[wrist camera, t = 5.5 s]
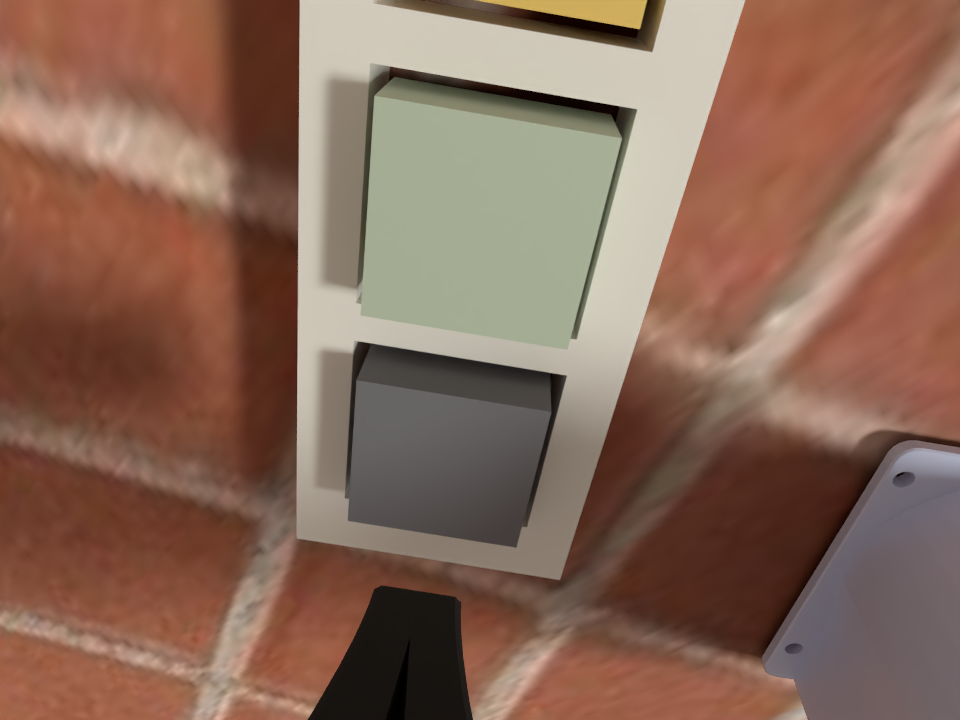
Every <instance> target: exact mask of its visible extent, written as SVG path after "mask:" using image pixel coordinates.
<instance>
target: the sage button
mask: <svg viewBox="0 0 960 720" xmlns="http://www.w3.org/2000/svg"><path fill="white" fill-rule="evenodd" d="M621 141H622V137H621V135H620V133H619V131H618V128H617V126H616V124H615V122H614V120H613V118H612V115H611V114H605V113H599V112H594V111H588V110H582V109H576V108H571V107H565V106H559V105H553V104H547V103H542V102H536V101H530V100H524V99H519V98H513V97H507V96H501V95H496V94H490V93H484V92H478V91H472V90H467V89H461V88H455V87H449V86H444V85H438V84H432V83H426V82H420V81H415V80H409V79H403V78H397V77H394V78H393V79H392V80H391V81H390V82H389V83H387V84H386V85H385V86H384V87H383V88H382V89H381V90H380V91H379V92H378V93H377V94H376V95H375V96H374V109H373V125H372V141H371V157H370V173H369V189H368V205H367V221H366V237H365V253H364V268H363V284H362V300H361V316H367V317H373V318H379V319H385V320H391V321H397V322H403V323H409V324H415V325H421V326H427V327H433V328H439V329H445V330H451V331H457V332H463V333H469V334H475V335H481V336H487V337H493V338H500V339H506V340H512V341H518V342H524V343H530V344H536V345H542V346H548V347H554V348H560V349H566V350H568V346H569V342H570V338H571V334H572V331H573V327H574V323H575V319H576V315H577V311H578V307H579V303H580V300H581V296H582V292H583V288H584V284H585V280H586V276H587V272H588V269H589V265H590V261H591V257H592V253H593V249H594V245H595V241H596V238H597V234H598V230H599V226H600V222H601V218H602V214H603V210H604V207H605V203H606V199H607V195H608V191H609V187H610V183H611V179H612V176H613V172H614V168H615V164H616V160H617V156H618V152H619V148H620V145H621Z"/></svg>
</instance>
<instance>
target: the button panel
mask: <svg viewBox="0 0 960 720" xmlns="http://www.w3.org/2000/svg"><path fill="white" fill-rule="evenodd" d="M744 2H745V0H647V3H646V7H645V11H644V15H643V19H642V23H641V27H640V29H639V30H638V34H637V38H633V37H627V36H621V35H616V34H610V33H604V32H599V31H593V30H587V29H582V28H576V27H570V26H564V25H559V24H553V23H547V22H542V21H536V20H530V19H525V18H519V17H513V16H508V15H502V14H496V13H490V12H485V11H479V10H473V9H468V8H462V7H456V6H451V5H445V4H439V3H434V2H428V1H422V0H300V39H299V199H298V360H297V520H296V538H298V539H304V540H310V541H317V542H323V543H329V544H336V545H342V546H348V547H354V548H361V549H367V550H373V551H380V552H386V553H392V554H399V555H405V556H411V557H418V558H424V559H430V560H437V561H443V562H449V563H455V564H462V565H468V566H474V567H481V568H487V569H493V570H500V571H506V572H512V573H519V574H525V575H531V576H538V577H544V578H550V579H557V580H560V578H561V575H562V572H563V569H564V566H565V563H566V560H567V556H568V553H569V550H570V547H571V544H572V541H573V538H574V534H575V531H576V528H577V525H578V522H579V519H580V516H581V513H582V509H583V506H584V503H585V500H586V497H587V494H588V491H589V488H590V484H591V481H592V478H593V475H594V472H595V469H596V466H597V462H598V459H599V456H600V453H601V450H602V447H603V444H604V441H605V437H606V434H607V431H608V428H609V425H610V422H611V419H612V416H613V412H614V409H615V406H616V403H617V400H618V397H619V394H620V390H621V387H622V384H623V381H624V378H625V375H626V372H627V369H628V365H629V362H630V359H631V356H632V353H633V350H634V347H635V344H636V340H637V337H638V334H639V331H640V328H641V325H642V322H643V318H644V315H645V312H646V309H647V306H648V303H649V300H650V297H651V293H652V290H653V287H654V284H655V281H656V278H657V275H658V272H659V268H660V265H661V262H662V259H663V256H664V253H665V250H666V246H667V243H668V240H669V237H670V234H671V231H672V228H673V225H674V221H675V218H676V215H677V212H678V209H679V206H680V203H681V199H682V196H683V193H684V190H685V187H686V184H687V181H688V178H689V174H690V171H691V168H692V165H693V162H694V159H695V156H696V153H697V149H698V146H699V143H700V140H701V137H702V134H703V131H704V127H705V124H706V121H707V118H708V115H709V112H710V109H711V106H712V102H713V99H714V96H715V93H716V90H717V87H718V84H719V81H720V77H721V74H722V71H723V68H724V65H725V62H726V59H727V55H728V52H729V49H730V46H731V43H732V40H733V37H734V34H735V30H736V27H737V24H738V21H739V18H740V15H741V12H742V9H743V5H744ZM390 66H391V67H396V68H402V69H408V70H414V71H419V72H425V73H431V74H437V75H442V76H448V77H454V78H460V79H465V80H471V81H477V82H483V83H489V84H494V85H500V86H506V87H512V88H517V89H523V90H529V91H535V92H540V93H546V94H552V95H558V96H563V97H569V98H575V99H581V100H586V101H592V102H598V103H604V104H610V105H615V106H619V110H618V114H617V118H616V122H615V124H616V126H617V128H618V131H619V133H620V135H621V137H622V141H621V145H620V148H619V152H618V156H617V160H616V164H615V168H614V172H613V176H612V179H611V183H610V187H609V191H608V195H607V199H606V203H605V207H604V210H603V214H602V218H601V222H600V226H599V230H598V234H597V238H596V241H595V245H594V249H593V253H592V257H591V261H590V265H589V269H588V272H587V276H586V280H585V284H584V288H583V292H582V296H581V300H580V303H579V307H578V311H577V315H576V319H575V323H574V327H573V331H572V334H571V338H570V342H569V346H568V350H566V349H560V348H554V347H548V346H542V345H536V344H530V343H524V342H518V341H512V340H506V339H500V338H493V337H487V336H481V335H475V334H469V333H463V332H457V331H451V330H445V329H439V328H433V327H427V326H421V325H415V324H409V323H403V322H397V321H391V320H385V319H379V318H373V317H367V316H361V300H362V284H363V268H364V253H365V237H366V221H367V205H368V189H369V173H370V157H371V141H372V125H373V109H374V96H375V95H376V94H377V93H378V92H379V91H380V90H381V89H382V88H383V87H384V86H385V85H386V84H387V83H389V73H390ZM370 343H372V344H378V345H384V346H391V347H397V348H403V349H409V350H415V351H421V352H427V353H433V354H439V355H445V356H451V357H457V358H463V359H469V360H475V361H482V362H488V363H494V364H500V365H506V366H512V367H518V368H524V369H530V370H536V371H542V372H548V373H553V375H552V379H551V383H550V386H551V416H550V420H549V424H548V428H547V431H546V435H545V439H544V443H543V447H542V451H541V455H540V459H539V462H538V466H537V470H536V474H535V478H534V482H533V486H532V490H531V493H530V497H529V501H528V505H527V509H526V513H525V517H524V521H523V524H522V528H521V532H520V536H519V540H518V544H517V548H515V547H509V546H502V545H496V544H490V543H484V542H477V541H471V540H465V539H458V538H452V537H446V536H440V535H433V534H427V533H421V532H414V531H408V530H402V529H396V528H389V527H383V526H377V525H370V524H364V523H358V522H352V521H348V507H349V491H350V475H351V459H352V443H353V427H354V411H355V396H356V380H357V378H358V375H359V373H360V370H361V368H362V366H363V363H364V361H365V358H366V356H367V353H368V351H369V347H370Z"/></svg>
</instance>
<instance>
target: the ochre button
mask: <svg viewBox="0 0 960 720" xmlns="http://www.w3.org/2000/svg"><path fill="white" fill-rule="evenodd" d="M476 1H482V2H488V3H493V4H499V5H505V6H510V7H516V8H522V9H527V10H533V11H539V12H544V13H550V14H556V15H561V16H567V17H573V18H578V19H584V20H590V21H596V22H601V23H607V24H613V25H618V26H624V27H630V28H635V29H640V27H641V23H642V19H643V15H644V11H645V7H646V3H647V0H476Z"/></svg>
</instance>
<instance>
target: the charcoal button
mask: <svg viewBox="0 0 960 720" xmlns="http://www.w3.org/2000/svg"><path fill="white" fill-rule="evenodd" d="M550 416H551V386H550V373H548V372H542V371H536V370H530V369H524V368H518V367H512V366H506V365H500V364H494V363H488V362H482V361H475V360H469V359H463V358H457V357H451V356H445V355H439V354H433V353H427V352H421V351H415V350H409V349H403V348H397V347H391V346H384V345H378V344H371V346H370V348H369V351H368V353H367V356H366V358H365V361H364V363H363V366H362V368H361V370H360V373H359V375H358V378H357V380H356V396H355V411H354V427H353V443H352V459H351V475H350V491H349V507H348V521H352V522H358V523H364V524H370V525H377V526H383V527H389V528H396V529H402V530H408V531H414V532H421V533H427V534H433V535H440V536H446V537H452V538H458V539H465V540H471V541H477V542H484V543H490V544H496V545H502V546H509V547H515V548H517V544H518V540H519V536H520V532H521V528H522V524H523V521H524V517H525V513H526V509H527V505H528V501H529V497H530V493H531V490H532V486H533V482H534V478H535V474H536V470H537V466H538V462H539V459H540V455H541V451H542V447H543V443H544V439H545V435H546V431H547V428H548V424H549V420H550Z"/></svg>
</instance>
